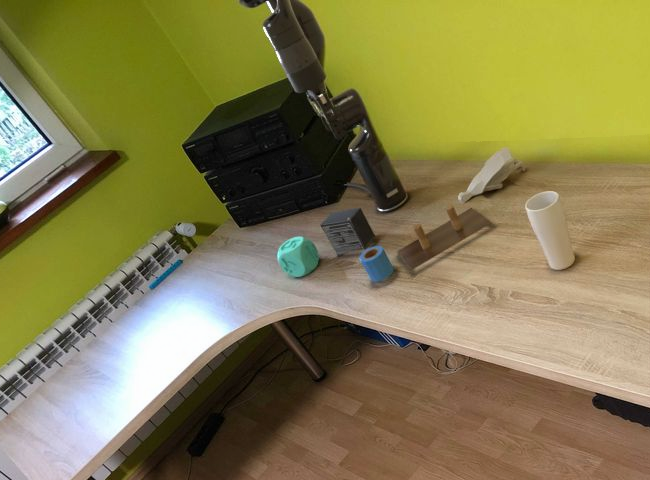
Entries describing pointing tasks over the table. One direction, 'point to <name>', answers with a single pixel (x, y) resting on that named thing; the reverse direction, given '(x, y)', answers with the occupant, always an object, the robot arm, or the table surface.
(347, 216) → the small box
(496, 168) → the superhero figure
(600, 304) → the table surface
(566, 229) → the drinking glass
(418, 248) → the tape rack
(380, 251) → the tape roll
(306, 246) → the decorative dice
